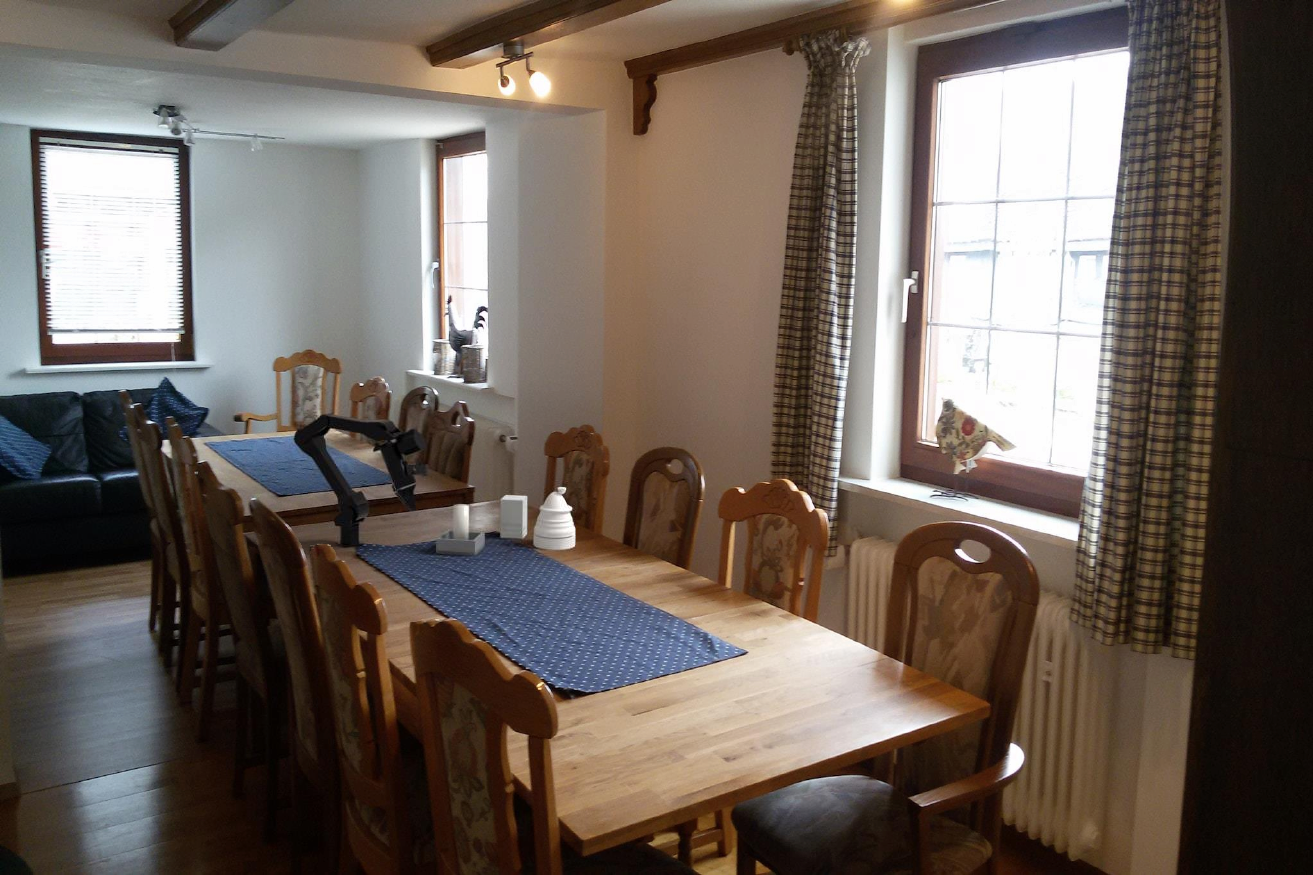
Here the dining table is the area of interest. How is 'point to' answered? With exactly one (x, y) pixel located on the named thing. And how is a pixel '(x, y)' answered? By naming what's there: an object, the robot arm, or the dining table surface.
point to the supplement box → (513, 517)
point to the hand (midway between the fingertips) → (413, 510)
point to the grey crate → (460, 544)
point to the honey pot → (554, 524)
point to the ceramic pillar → (461, 522)
